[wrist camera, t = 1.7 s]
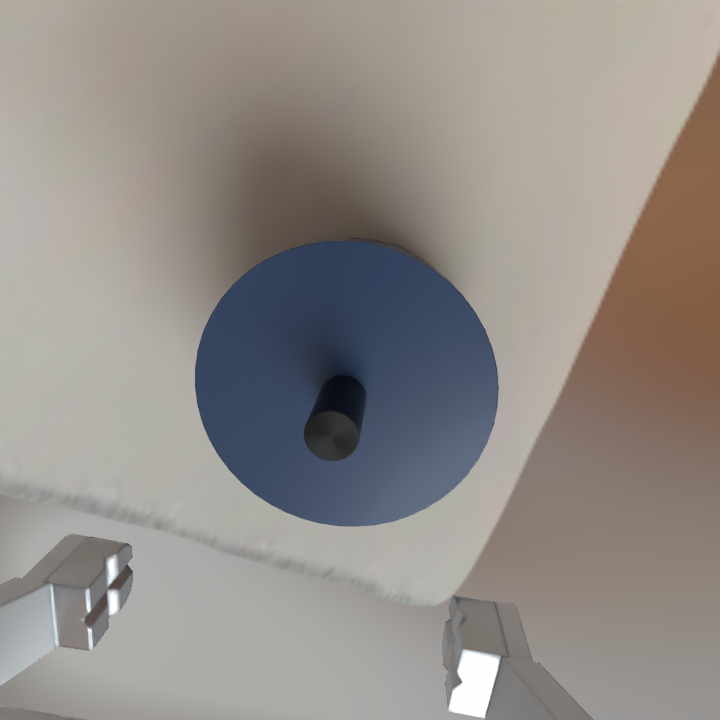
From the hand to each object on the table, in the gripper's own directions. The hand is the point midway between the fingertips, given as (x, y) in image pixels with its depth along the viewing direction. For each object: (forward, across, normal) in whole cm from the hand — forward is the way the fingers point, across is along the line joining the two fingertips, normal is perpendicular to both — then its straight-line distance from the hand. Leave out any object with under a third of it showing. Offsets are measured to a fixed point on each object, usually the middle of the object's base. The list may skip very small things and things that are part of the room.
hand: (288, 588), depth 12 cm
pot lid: (+14, 0, 0) cm, 14 cm away
